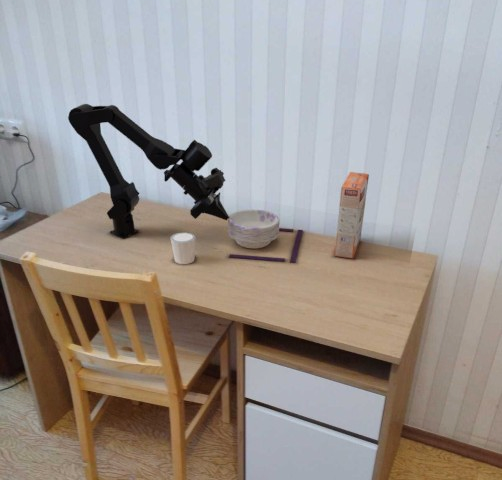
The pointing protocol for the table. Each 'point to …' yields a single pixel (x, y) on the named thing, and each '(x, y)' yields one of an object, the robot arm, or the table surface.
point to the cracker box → (351, 214)
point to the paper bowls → (253, 228)
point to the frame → (292, 260)
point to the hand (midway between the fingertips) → (227, 218)
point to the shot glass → (183, 247)
